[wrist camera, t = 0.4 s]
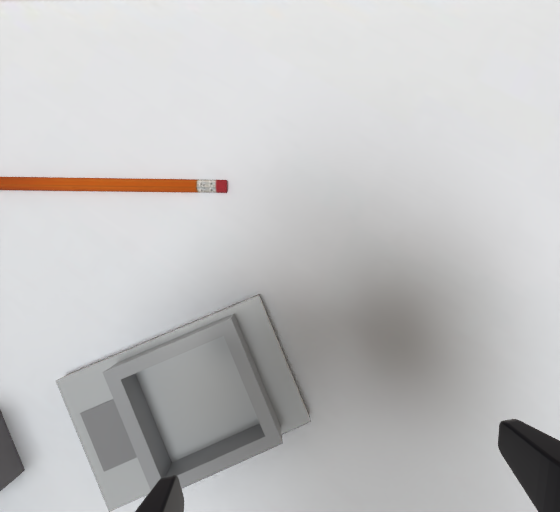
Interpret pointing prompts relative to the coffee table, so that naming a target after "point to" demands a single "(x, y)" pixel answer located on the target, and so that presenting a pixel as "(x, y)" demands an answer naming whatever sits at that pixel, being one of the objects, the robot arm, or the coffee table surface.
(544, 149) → the coffee table surface
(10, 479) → the block
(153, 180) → the pencil
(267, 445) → the grey charging dock
